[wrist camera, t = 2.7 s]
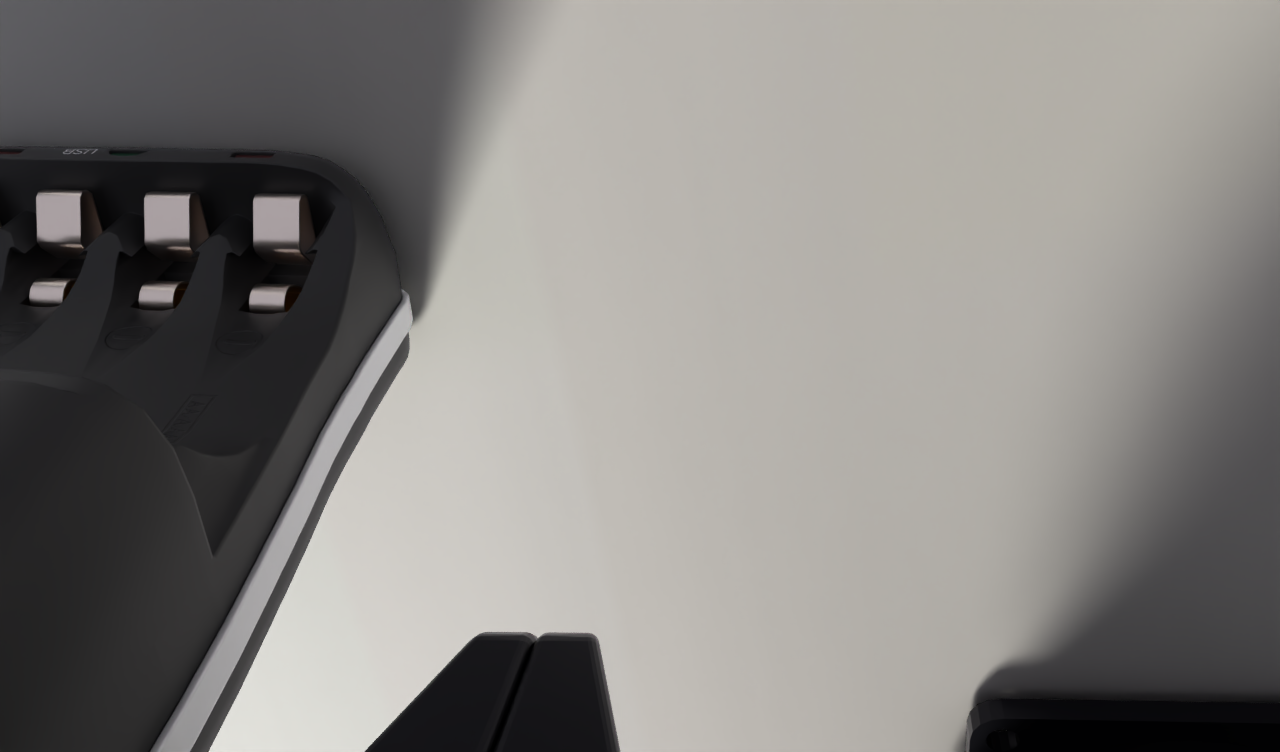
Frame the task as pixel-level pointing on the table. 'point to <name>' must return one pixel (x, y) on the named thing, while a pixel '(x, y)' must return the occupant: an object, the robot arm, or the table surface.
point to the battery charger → (171, 422)
